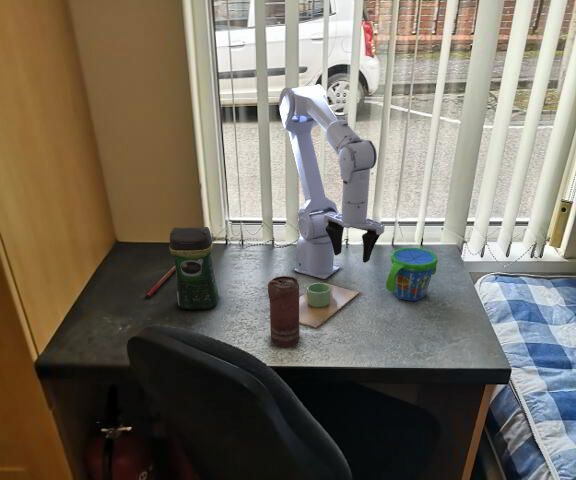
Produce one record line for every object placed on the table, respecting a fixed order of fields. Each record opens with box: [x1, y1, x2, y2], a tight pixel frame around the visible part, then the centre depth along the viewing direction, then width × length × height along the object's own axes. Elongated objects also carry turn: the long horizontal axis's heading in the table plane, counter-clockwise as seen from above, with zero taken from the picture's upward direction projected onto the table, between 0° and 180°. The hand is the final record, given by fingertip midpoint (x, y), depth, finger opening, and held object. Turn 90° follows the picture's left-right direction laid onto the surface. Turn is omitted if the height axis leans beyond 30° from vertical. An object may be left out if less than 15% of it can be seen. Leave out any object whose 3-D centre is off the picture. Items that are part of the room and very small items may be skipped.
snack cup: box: [385, 247, 439, 302], centre depth 136 cm, size 16×10×10 cm
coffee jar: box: [169, 226, 220, 311], centre depth 131 cm, size 10×8×19 cm
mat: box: [299, 281, 360, 330], centre depth 136 cm, size 11×20×1 cm, turn 146°
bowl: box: [306, 282, 331, 308], centre depth 134 cm, size 6×6×4 cm
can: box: [267, 275, 300, 349], centre depth 118 cm, size 6×6×14 cm
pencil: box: [145, 265, 176, 299], centre depth 147 cm, size 19×1×1 cm, turn 166°
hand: (351, 257), depth 135 cm, fingers open, 7 cm apart
